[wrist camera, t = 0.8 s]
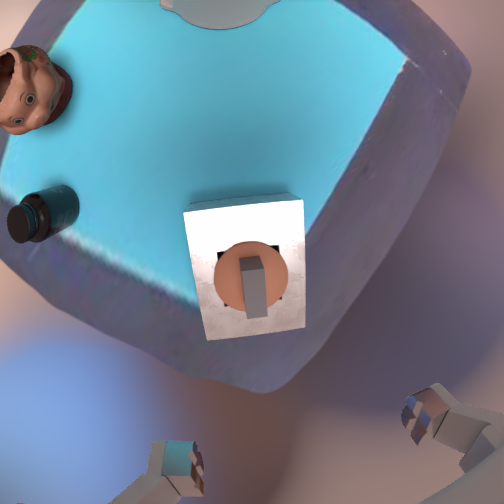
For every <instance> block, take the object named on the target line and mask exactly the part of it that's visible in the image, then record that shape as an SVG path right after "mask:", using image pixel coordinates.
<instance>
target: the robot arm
mask: <svg viewBox="0 0 504 504" xmlns="http://www.w3.org/2000/svg"><path fill="white" fill-rule="evenodd" d="M278 1H280V0H160V6H161V8H163V9H166V10H169V11H173V12H176V13H177V14H179V15H180V16H181V17H182V18H183V19H184V20H186V21H187V22H189V23H191V24H193V25H196V26H199V27H203V28H208V29H229V28H235V27H239V26H243V25H245V24H248V23H250V22H252V21H254V20H255V19H257V18H258V17H260V16H261V15H262V14H263V13H264V12H265V10H266V9H267V8H268V7H269V6H270V5H272V4H274V3H276V2H278ZM406 404H407V405H406V406H405V408H404V409H403V410H402V413H401V421H402V423H403V426H404V427H405V429H407V430H410V431H411V435H410V436H411V437H412V439H413V440H414V442H415V443H416V444H417V446H418V445H421V444H423V443H425V442H427V441H429V440H431V439H433V438H434V440H436V441H438V442H440V443H442V444H444V445H446V446H449V447H451V448H453V449H455V450H457V451H459V452H462V453H464V454H465V455H464V457H463V458H462V459H461V460H460V462H459V466H460V467H461V469H462V470H463V471H464V473H465V474H464V475H463V476H461V477H460V478H458V479H457V480H455V481H454V482H452V483H451V484H450V485H448V486H446V487H445V488H443V489H442V490H440V491H438V492H437V493H435V494H433V495H432V496H430V497H428V498H426V499H424V500H423V501H421V502H419V503H417V504H504V414H503V413H499V412H495V411H491V410H487V409H483V408H479V407H476V406H471V405H468V404H464V403H461V404H459V403H458V402H457V401H456V400H455V399H454V398H453V397H452V396H451V394H450V393H449V392H448V391H447V390H446V389H445V388H444V387H443V386H442V385H441V384H439V383H436V384H434V385H432V386H430V387H428V388H425V389H423V390H421V391H419V392H416V393H414V394H412V395H409V397H407V399H406ZM203 474H204V462H203V457H202V455H201V453H200V452H199V451H198V446H197V444H196V442H195V441H162V440H161V441H160V440H154V442H153V443H152V448H151V452H150V457H149V462H148V468H147V473H146V474H142V475H141V476H140V477H139V478H138V479H136V480H135V481H134V482H133V483H132V484H131V485H130V486H128V487H127V488H126V489H125V490H124V491H123V492H121V494H119V495H118V496H117V497H116V498H114V499H113V500H112V501H111V502H110V503H108V504H177V502H178V501H179V500H180V499H181V496H204V482H203V480H202V478H201V476H202V475H203ZM17 504H23V503H17Z"/></svg>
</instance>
